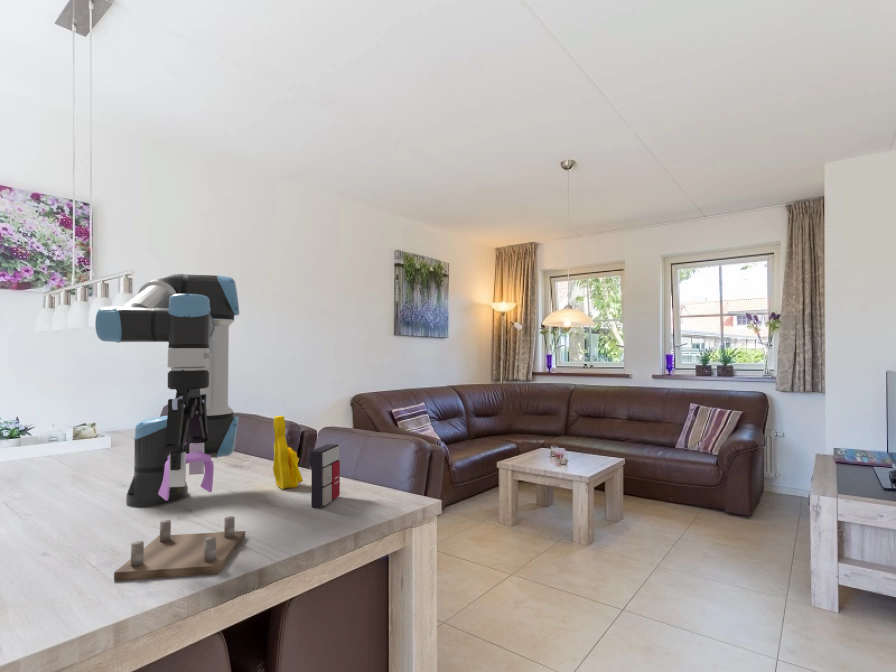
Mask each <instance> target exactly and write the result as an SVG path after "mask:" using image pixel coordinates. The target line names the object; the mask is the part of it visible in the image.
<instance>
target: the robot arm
mask: <svg viewBox="0 0 896 672" xmlns="http://www.w3.org/2000/svg"><path fill="white" fill-rule="evenodd" d="M237 316H240V307H239V297H238V291H237V284H236V281H235V279H234V278H233V277H230V276H225V275H211V274H210V275H209V274H207V275H206V274H184V273H176V274H173V273H172V274H168V275H164V276H160V277H156V278H154V279H152V280H149V281H148V282H146V283H144V284H143V285H142V286H141V287H140V288H139V290H138V293H137V294H136V296H134V297H133V298H131V299H130V300H129V301H128V302H126V303H125V304H123V306H115V305H113V306H102V307H100V308H98V310H97V312H96V315H95V321H94V322H95V323H94V325H95V333H96V335H97V337H98V339H99V340H100V341H102V342H108V343H109V342H111V343H112V342H113V343H168V347H167V368H168V369H170V370H169V371H168V372H167V389H169V390H175V391H176V392H175V398H169V399H168V400H167V415H163V416H158V417H157V416H156V417H152V418H147V419H144V420H141V421H139V422H138V423H136V425H135V430H134V431H135V432H134V437H133V440H134V455H133V456H134V459H133V460H134V463H133V465H134V466H133V469H134V470H133V472H134V473H133V477H132V479H131V482H130V484H129V487H128V490H127V493H126V495H125V497H126V499H125V502H126V505H127V506H131V507H153V506H154V507H155V506H160V505H166V504H167V505H168V504H171V503H174V502H175V503H176V502H178V501H181V500H184V499H185V498H187V497H188V494H189V486H188V483H187V481H186V478H187V477H186V476H187V475H186V474H187V473H186V471H187V469H186V468H187V464H186V454H189V453H194V452H203V453H205V454H207V455H211V459H212V458H213V459H218V458H223V457H224V458H225V457H229V456H231V455H232V454H233V453H234V452H235V451H234V450H235V445H236V438H237V433H238V426H239V417H238V416H236V415H235V416H234V410H233V409H232V408H231V407H230V406H229V344H230V343H229V342H230V341H229V337H230V336H229V334H230V333H229V331H230V325H232V324H233V323H234V322H235V317H237ZM185 441H186V445H185ZM168 456H169V487H170V491H169V498H168V500H167V501H166V500H165V499H163V498H162V497H161V496H160V495H158V492H159V490H160V487H161V484H162V481H163V477H164V468H165V463H166V461H167V460H168ZM188 466H189V467H188V475H204V474H205V467H204V463H203V461H202V462H192V463H188Z"/></svg>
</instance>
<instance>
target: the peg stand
mask: <svg viewBox="0 0 896 672" xmlns="http://www.w3.org/2000/svg"><path fill="white" fill-rule="evenodd" d="M235 519H236V518H235V516H234V515H233V516H232V515H231V516H226V517H224V531H218V532H202V533H199V532H198V533H183V534H182V533H181V534H171V533H172V531H171V529H172V527H171V525H172V522H171V521H172V520H171V519H163V520H160V522H159V535H158V536H156V537H155V538H154V539H153V540H152V541H150V543H148V544H147V545H146V546H145V544H144V543H145V541H144V540H136V541H133V542H131V544H130V559H129V560H127V561H126V562H124V564H122V565H121V566H120V567H118V568H117V569H116V570H115V571H114V572H113V581H114V580H118V581H128V580H129V581H131V580H130V579H133V580H146V579H159V578H176V577H178V578H179V577H189V576H192V577H193V576H205V575H219V574H220V573H221V572H222V570H223V569H224V567H225V566H226V564H227V563H228V562H229V560H230V559H231V558H232V556H233V555H234V554H235V553H236V552H237V550H238V548H239V547H240V545H241V544H242V543H243V541H244V540H245V539H246V531H245V530H239V531H237V530H236V531H235V526H236V525H235V521H236V520H235Z"/></svg>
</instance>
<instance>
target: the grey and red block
mask: <svg viewBox="0 0 896 672" xmlns="http://www.w3.org/2000/svg"><path fill="white" fill-rule="evenodd" d="M339 459H340V446H339V444H335V443H334V444H333V443H332V444H331V443H328V444H324V445H322V446H319V447H317V448H314V449H312V450H309V467H310V469H311V489H310V490H311V502H310V503H311V508H315V509H317V508H318V509H322V508H324V507H326V506H327V505H328V504H330V503H331V502H333V501H334V500H335V498H336V499H337V498H338V497H339V496H340V495H341V491H340V490H341V487H340V486H341V483H340V481H341V470H340V469H341V467H340V466H341V463H340V462H341V461H340V460H339Z"/></svg>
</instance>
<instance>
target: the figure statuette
mask: <svg viewBox="0 0 896 672" xmlns="http://www.w3.org/2000/svg"><path fill="white" fill-rule="evenodd" d="M285 420H286V419H285V416H284V415H277V416H275V415H274V417H273V431H274V432H273V434H274V443H273V453H274V454H273V455H274V457H273V466H272V470H273V475H274V479H275V485H276V486H277V487H278V488H280V489H282V490H284V489H288V488H290V489H291V488H298V487H297V486H299V484H300V483H302V482H304V479H303V477H302V474H301V471H300V469H299V465H298V463H299V460H300V457H298V453H297V452H296V451H295V450H294V449H293V448H292V447H289V446H288V442H287V439H286V428H287V427H286V421H285Z"/></svg>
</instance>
